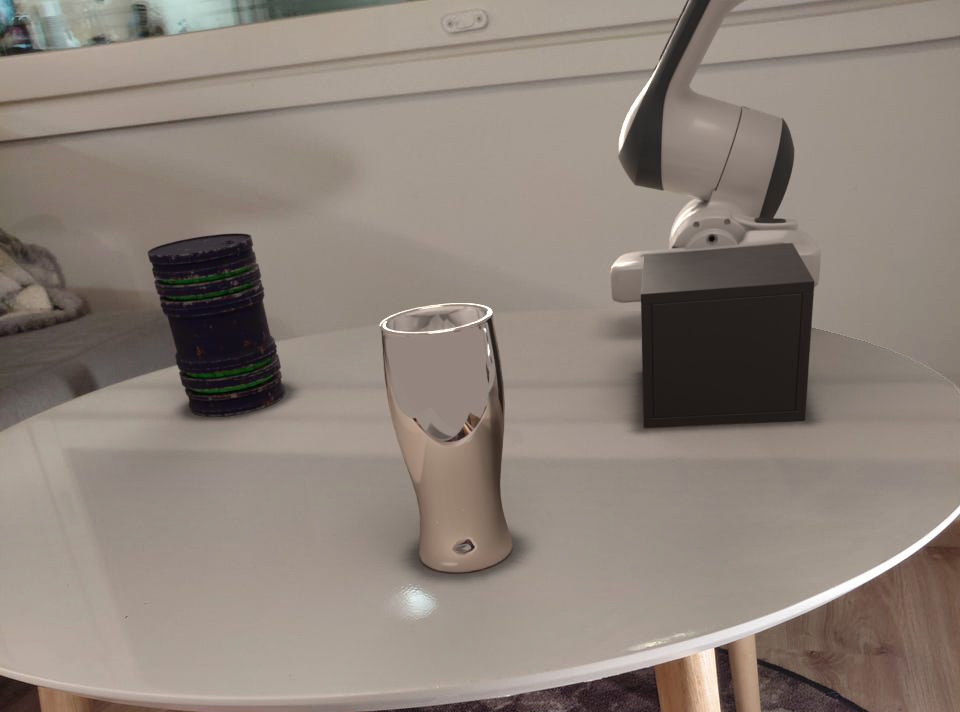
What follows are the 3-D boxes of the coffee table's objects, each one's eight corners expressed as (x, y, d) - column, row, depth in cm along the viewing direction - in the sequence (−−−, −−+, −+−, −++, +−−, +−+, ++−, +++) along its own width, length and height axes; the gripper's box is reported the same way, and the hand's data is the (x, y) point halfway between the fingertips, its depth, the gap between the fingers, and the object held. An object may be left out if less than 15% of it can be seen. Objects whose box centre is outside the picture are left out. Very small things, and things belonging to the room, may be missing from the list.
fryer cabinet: (646, 373, 91) (643, 255, 86) (785, 365, 89) (792, 242, 83) (643, 428, 79) (640, 294, 74) (805, 420, 77) (814, 281, 71)
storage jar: (172, 419, 95) (127, 259, 87) (211, 387, 103) (172, 238, 96) (267, 413, 93) (230, 250, 86) (299, 382, 102) (267, 229, 94)
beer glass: (404, 540, 66) (367, 314, 58) (503, 520, 67) (480, 296, 59) (424, 585, 60) (386, 341, 52) (532, 563, 61) (510, 320, 53)
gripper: (610, 235, 103) (603, 264, 92) (812, 217, 99) (830, 245, 88) (613, 296, 107) (606, 331, 95) (808, 281, 103) (824, 316, 91)
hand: (715, 290), depth 92 cm, fingers closed, pressing on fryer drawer
